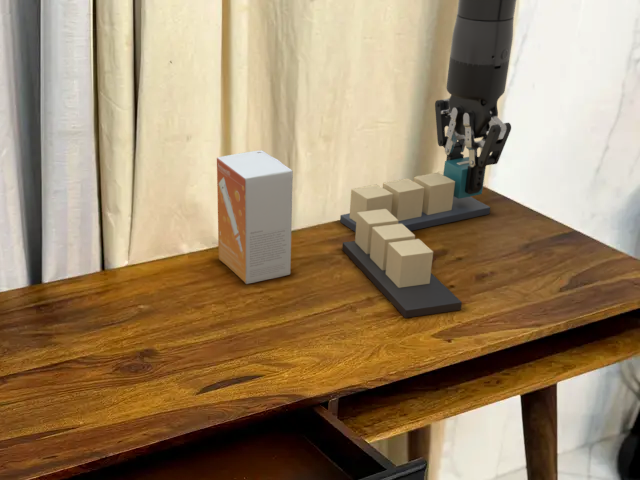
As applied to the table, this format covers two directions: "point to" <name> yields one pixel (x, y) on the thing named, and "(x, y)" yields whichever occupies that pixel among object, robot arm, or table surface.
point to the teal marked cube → (459, 176)
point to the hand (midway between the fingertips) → (462, 186)
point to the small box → (254, 215)
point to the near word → (398, 265)
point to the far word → (415, 202)
